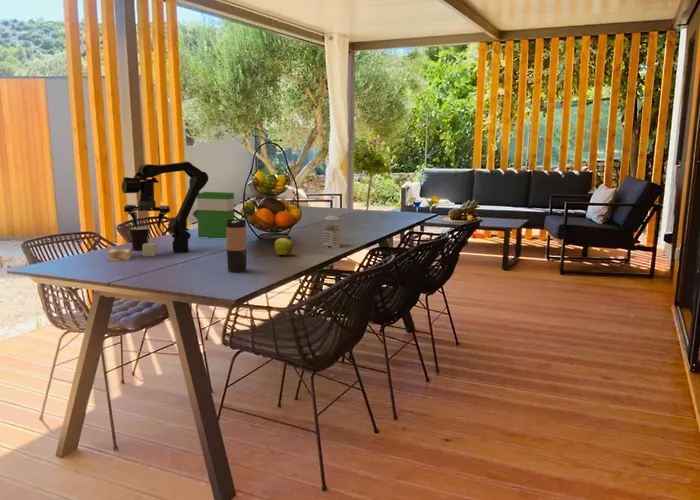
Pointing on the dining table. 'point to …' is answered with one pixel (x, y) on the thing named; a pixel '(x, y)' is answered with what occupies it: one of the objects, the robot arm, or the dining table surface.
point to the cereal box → (214, 213)
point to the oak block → (119, 254)
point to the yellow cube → (149, 249)
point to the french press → (332, 231)
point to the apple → (283, 246)
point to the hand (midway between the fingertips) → (147, 228)
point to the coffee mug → (139, 237)
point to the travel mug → (236, 245)
